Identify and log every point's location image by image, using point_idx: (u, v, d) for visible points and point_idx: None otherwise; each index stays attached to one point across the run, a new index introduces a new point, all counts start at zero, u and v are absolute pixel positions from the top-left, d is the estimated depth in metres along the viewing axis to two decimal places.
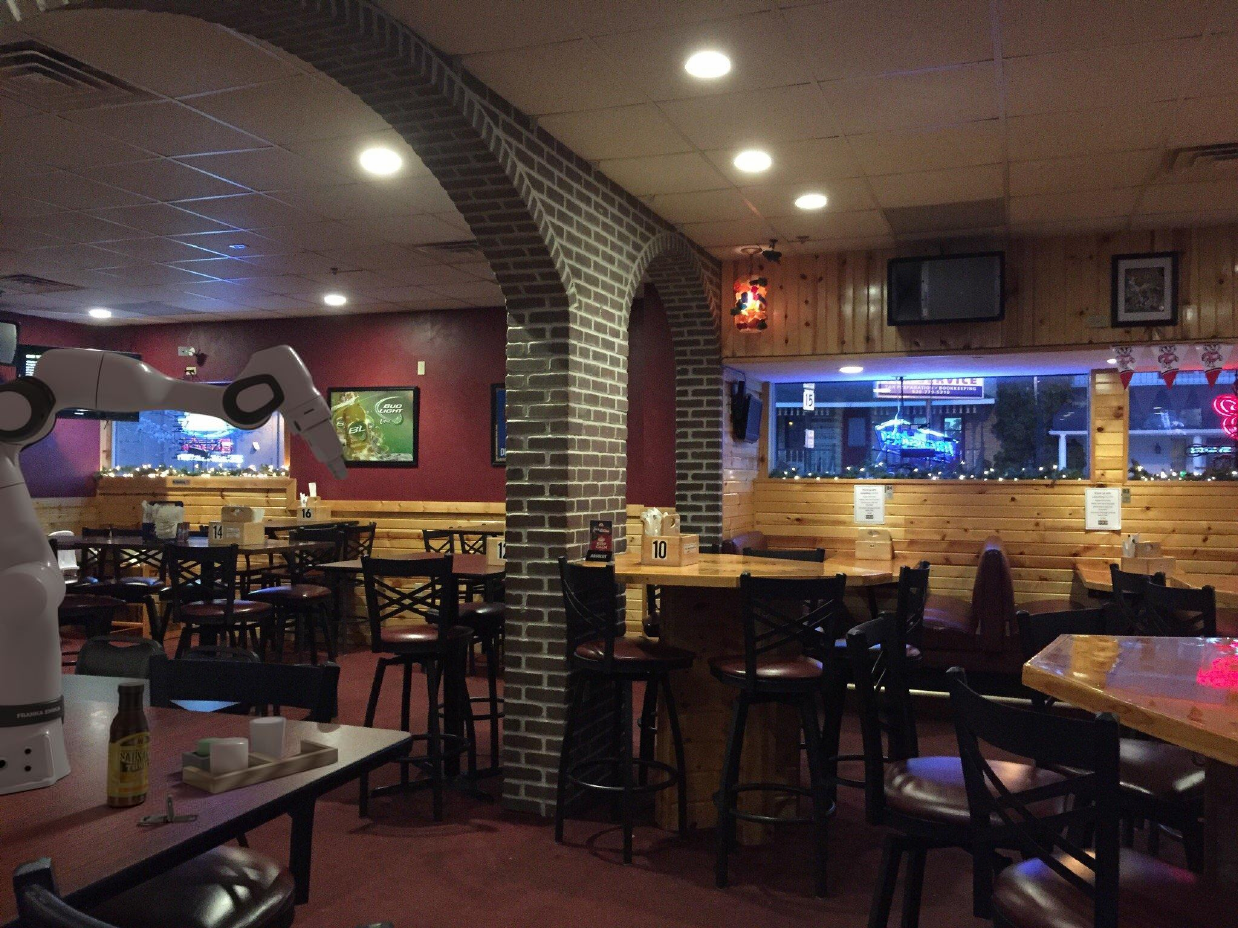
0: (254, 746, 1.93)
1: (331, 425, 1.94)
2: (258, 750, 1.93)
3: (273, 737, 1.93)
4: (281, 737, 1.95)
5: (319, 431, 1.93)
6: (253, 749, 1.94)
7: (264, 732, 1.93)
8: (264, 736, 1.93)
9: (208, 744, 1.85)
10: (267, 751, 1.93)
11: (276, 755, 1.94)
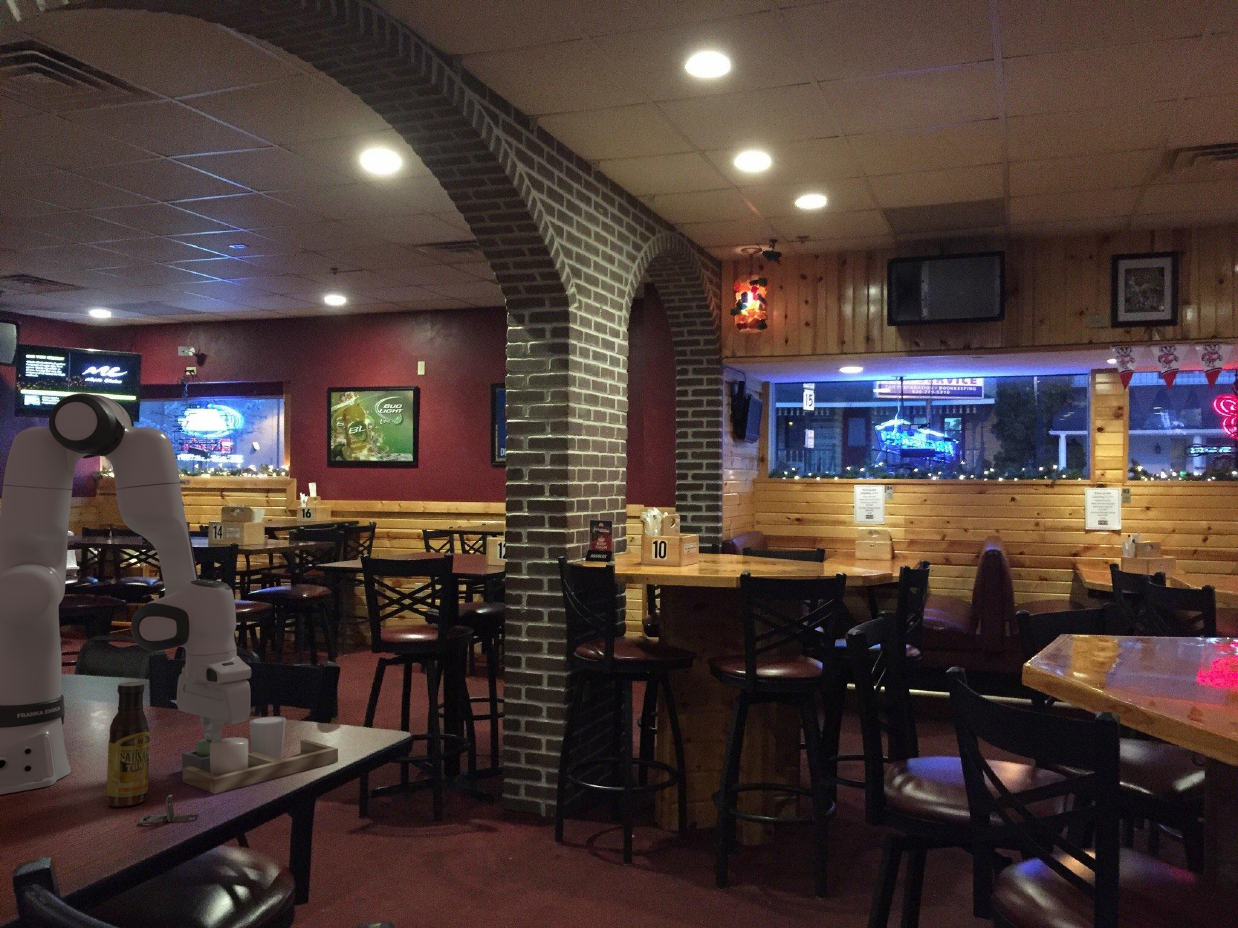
0: (254, 746, 1.93)
1: (249, 687, 1.83)
2: (258, 750, 1.93)
3: (273, 737, 1.93)
4: (281, 737, 1.95)
5: (236, 689, 1.81)
6: (253, 749, 1.94)
7: (264, 732, 1.93)
8: (264, 736, 1.93)
9: (208, 744, 1.85)
10: (267, 751, 1.93)
11: (276, 755, 1.94)
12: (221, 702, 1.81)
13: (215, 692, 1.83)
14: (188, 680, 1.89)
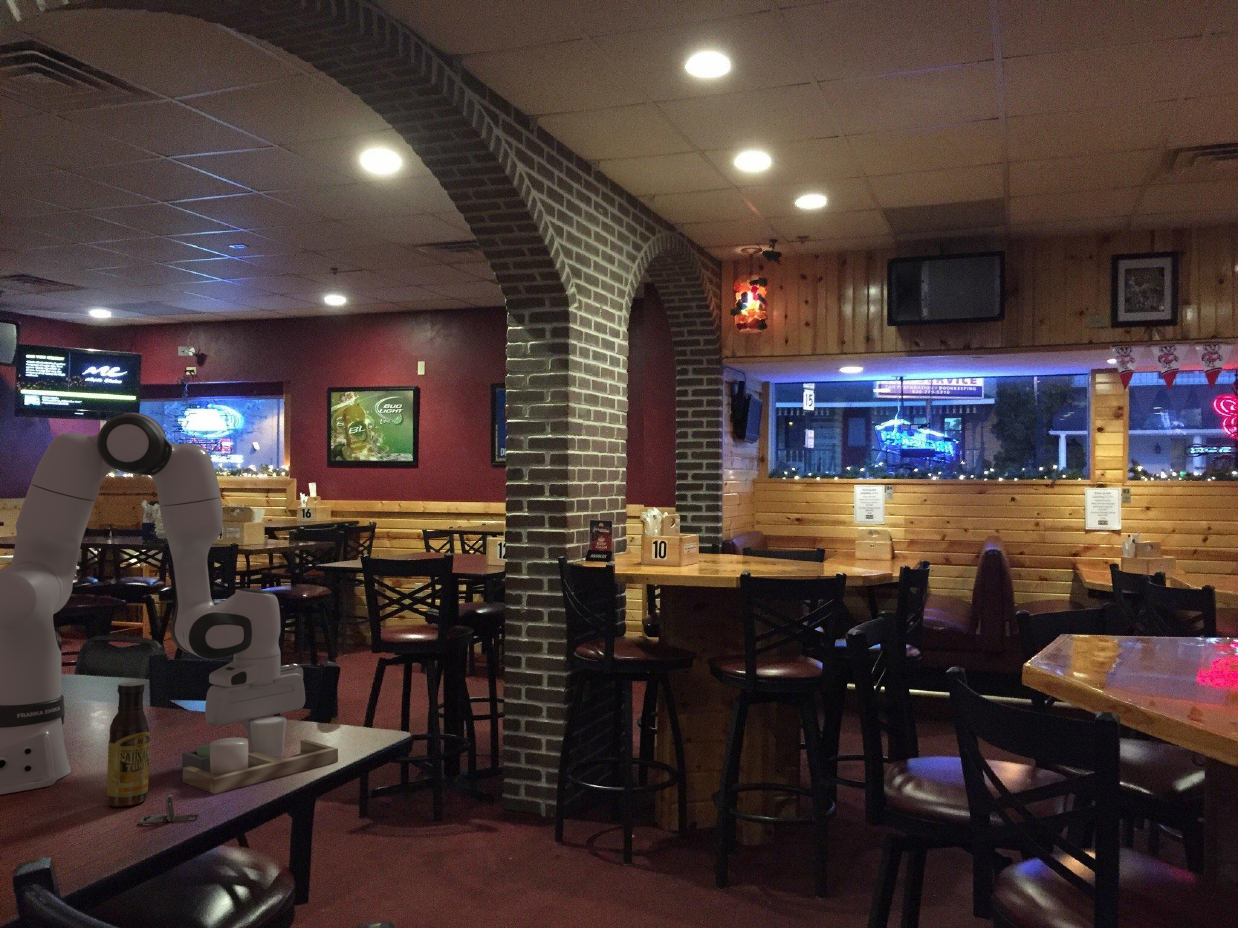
0: (255, 746, 1.93)
1: (218, 695, 1.90)
2: (258, 750, 1.93)
3: (274, 737, 1.93)
4: (281, 737, 1.95)
5: (211, 693, 1.92)
6: (253, 749, 1.94)
7: (265, 732, 1.93)
8: (264, 736, 1.93)
9: (208, 749, 1.85)
10: (267, 751, 1.93)
11: (276, 755, 1.94)
12: None
13: None
14: None
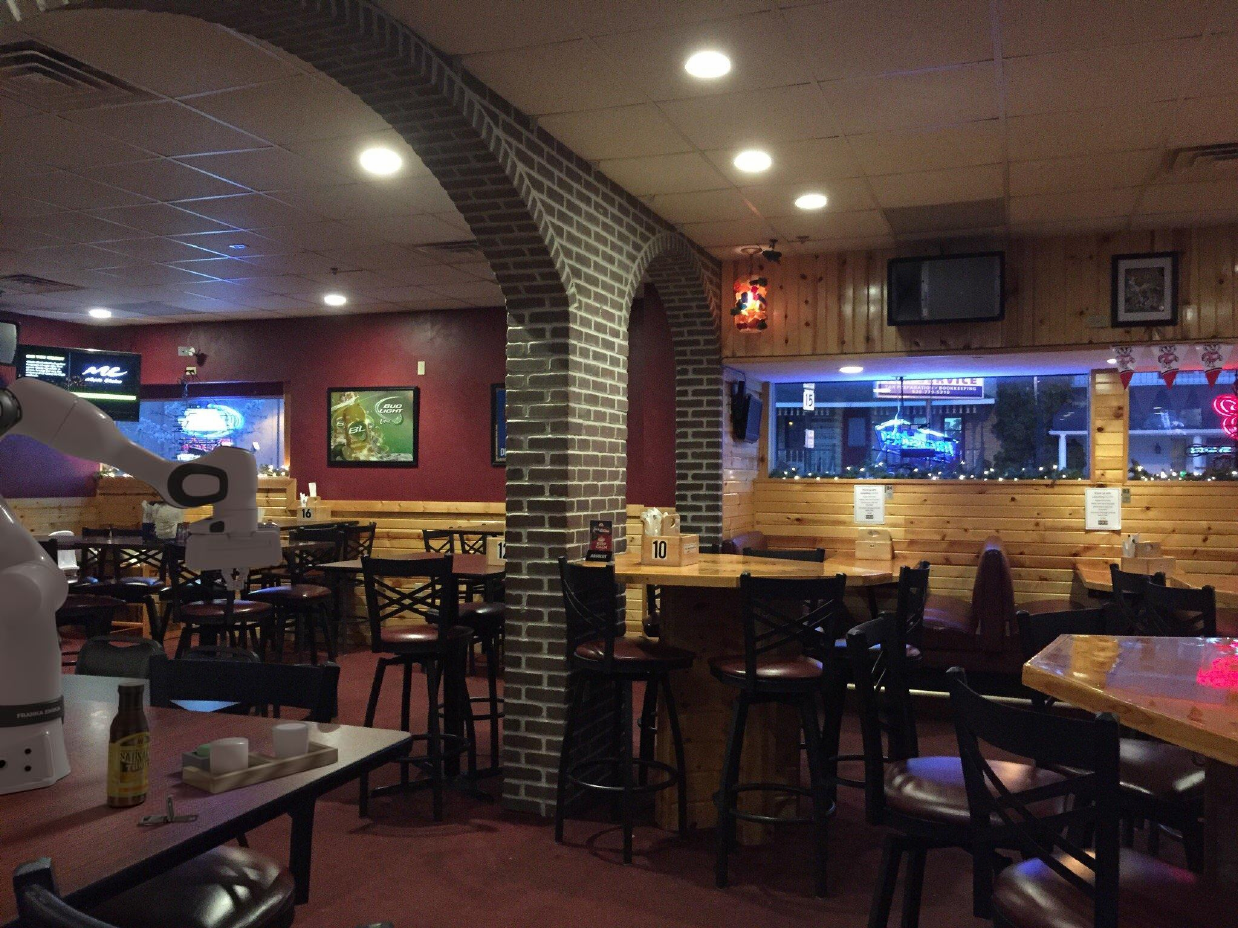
0: (278, 753, 1.88)
1: (197, 541, 2.00)
2: (282, 757, 1.88)
3: (298, 743, 1.89)
4: (305, 743, 1.90)
5: (191, 540, 2.02)
6: (277, 756, 1.89)
7: (289, 738, 1.88)
8: (289, 743, 1.88)
9: (208, 749, 1.85)
10: None
11: None
12: None
13: None
14: None
